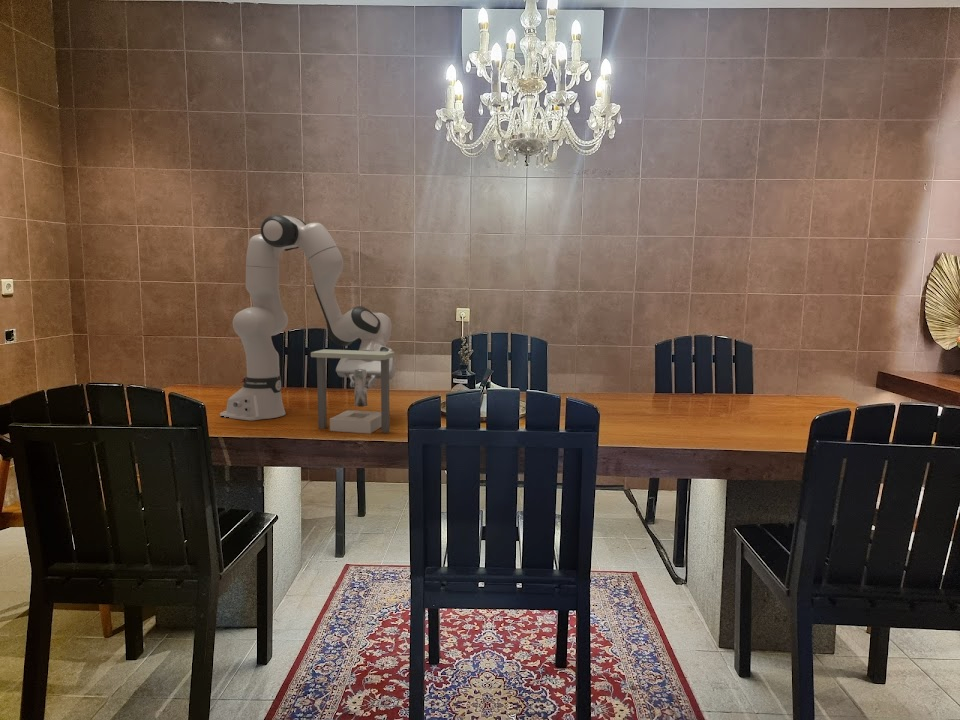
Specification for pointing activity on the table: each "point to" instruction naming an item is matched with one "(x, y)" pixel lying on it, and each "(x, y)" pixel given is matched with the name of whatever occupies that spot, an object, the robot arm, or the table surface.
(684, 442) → the table surface
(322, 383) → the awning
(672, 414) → the table surface
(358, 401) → the peg
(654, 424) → the table surface
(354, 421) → the socket
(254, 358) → the robot arm
